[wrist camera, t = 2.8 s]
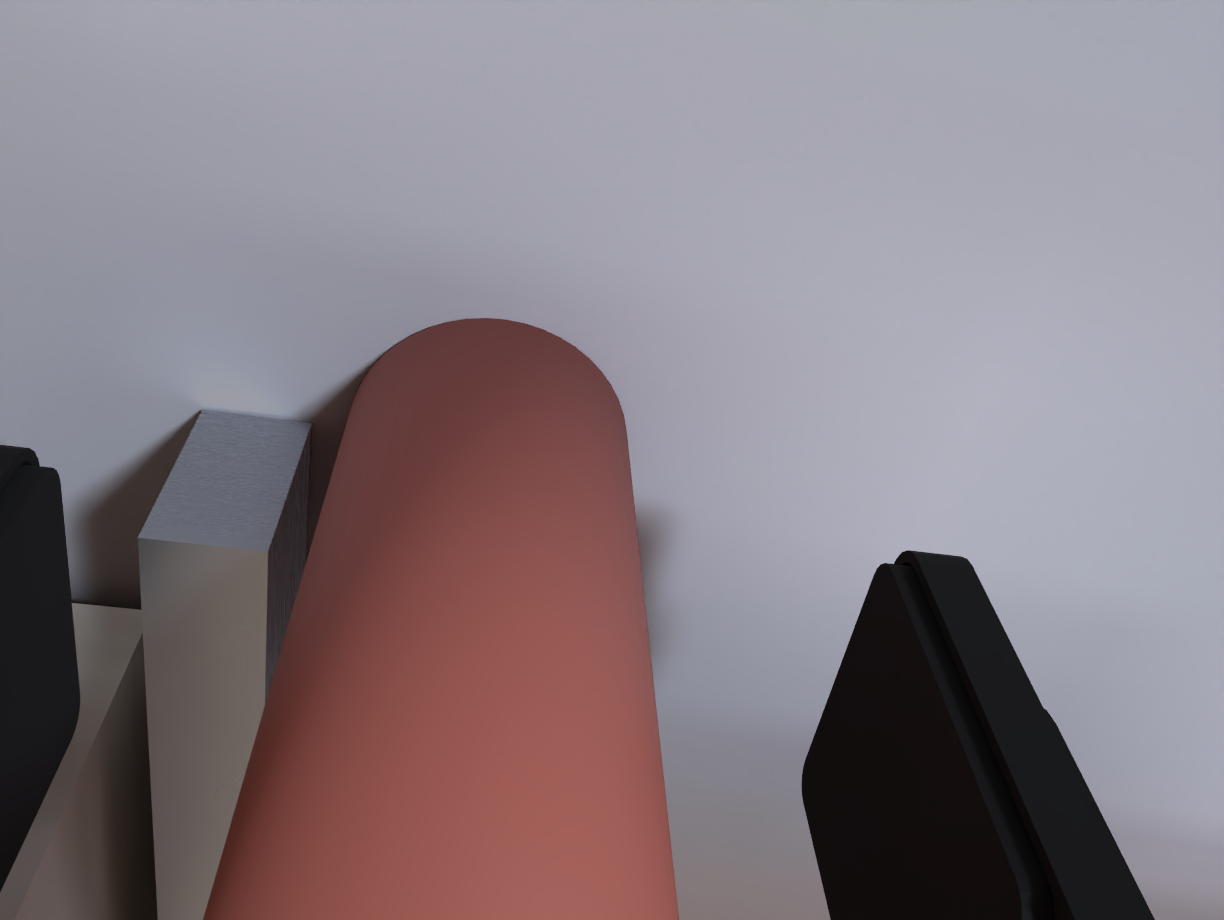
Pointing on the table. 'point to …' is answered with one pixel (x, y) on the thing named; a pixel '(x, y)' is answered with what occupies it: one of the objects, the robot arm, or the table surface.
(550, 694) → the handle peg
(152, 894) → the crate
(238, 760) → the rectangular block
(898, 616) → the robot arm
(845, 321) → the table surface
